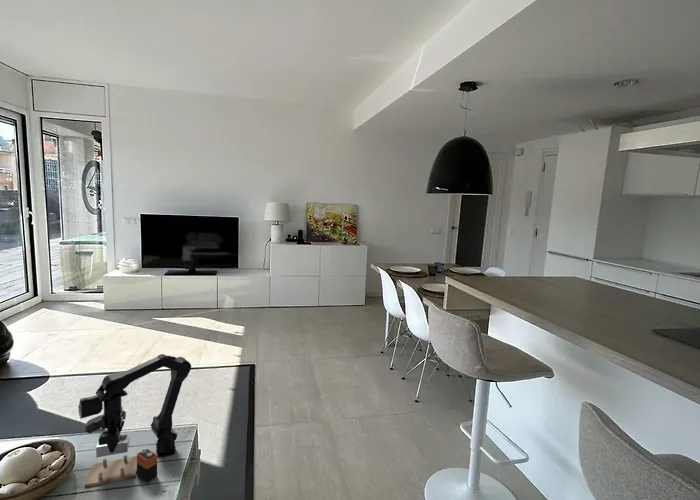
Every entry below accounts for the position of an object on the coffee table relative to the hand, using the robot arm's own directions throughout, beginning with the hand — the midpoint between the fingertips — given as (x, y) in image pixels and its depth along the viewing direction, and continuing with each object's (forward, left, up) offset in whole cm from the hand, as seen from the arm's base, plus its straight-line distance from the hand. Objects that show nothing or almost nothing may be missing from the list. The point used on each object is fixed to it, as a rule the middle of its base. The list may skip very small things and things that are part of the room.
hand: (113, 447), depth 145 cm
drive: (0, 0, -1) cm, 1 cm away
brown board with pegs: (0, 0, -10) cm, 10 cm away
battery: (-12, +7, -10) cm, 17 cm away
